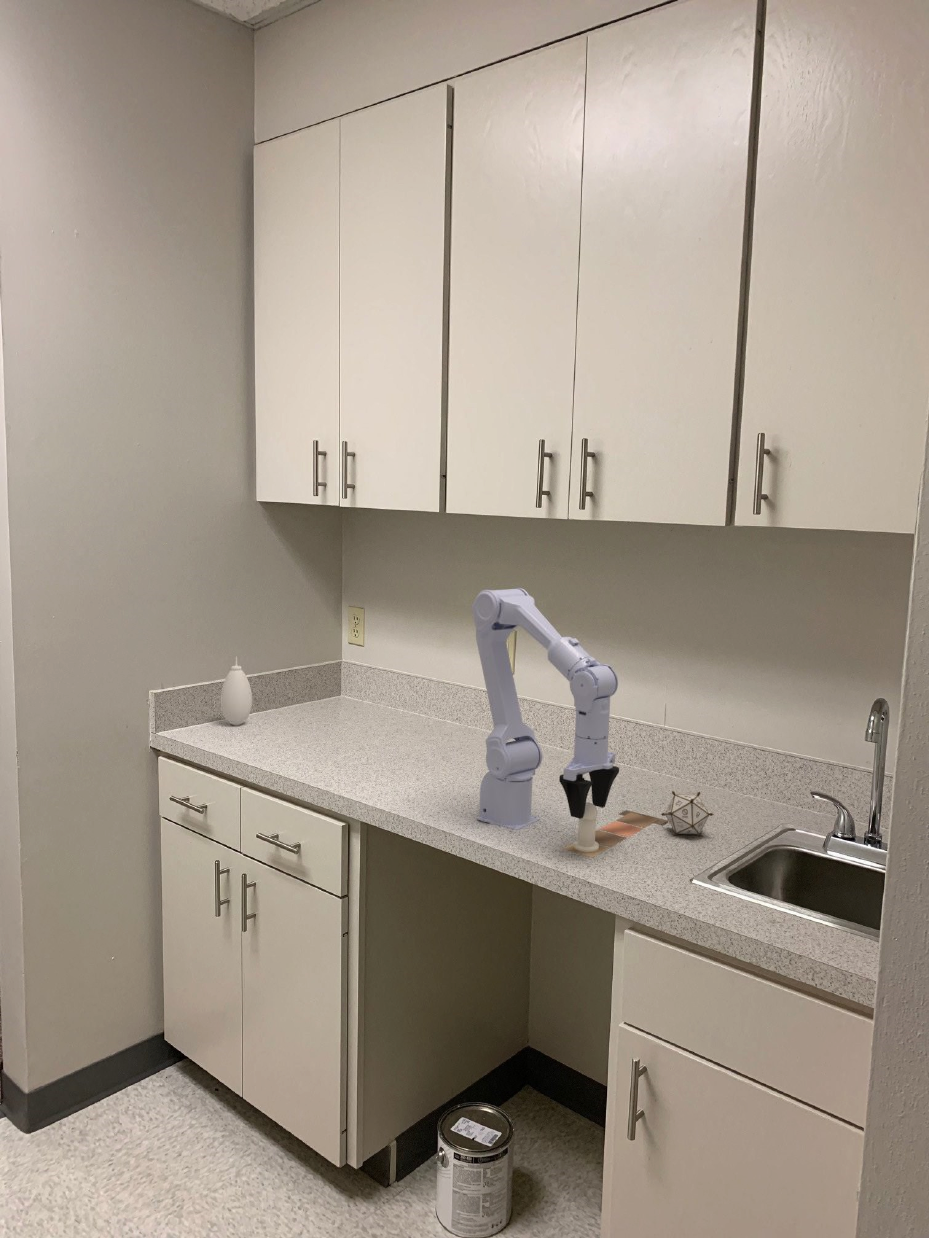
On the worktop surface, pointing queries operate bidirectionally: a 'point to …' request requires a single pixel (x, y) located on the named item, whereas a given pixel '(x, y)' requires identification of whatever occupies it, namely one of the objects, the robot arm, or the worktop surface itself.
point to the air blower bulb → (236, 696)
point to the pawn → (587, 831)
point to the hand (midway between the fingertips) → (588, 811)
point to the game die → (687, 814)
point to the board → (619, 830)
